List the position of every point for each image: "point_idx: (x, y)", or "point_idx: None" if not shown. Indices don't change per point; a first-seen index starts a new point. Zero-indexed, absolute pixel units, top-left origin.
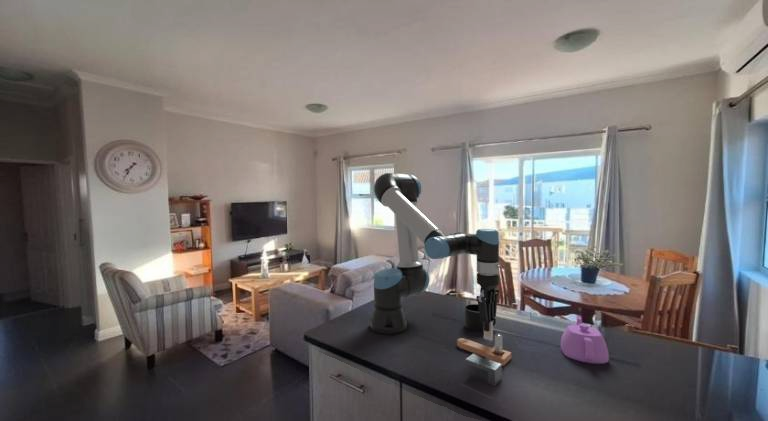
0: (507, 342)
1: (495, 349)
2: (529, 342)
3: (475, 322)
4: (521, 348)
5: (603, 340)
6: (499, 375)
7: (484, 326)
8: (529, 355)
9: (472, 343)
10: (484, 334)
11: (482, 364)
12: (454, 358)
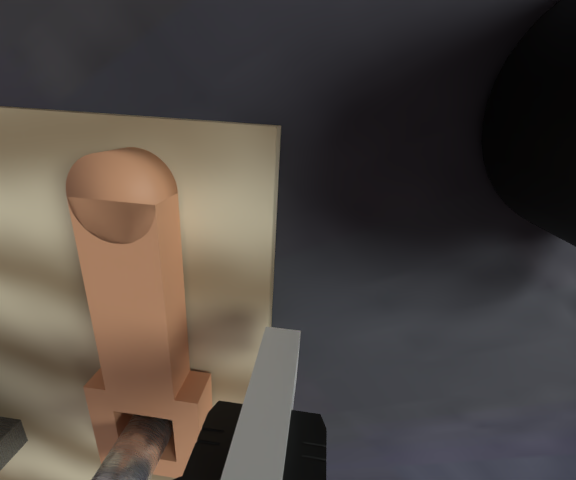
0: (454, 375)
1: (110, 451)
2: (522, 463)
3: (552, 170)
4: (411, 442)
5: None
6: None
7: (193, 450)
8: (351, 474)
9: (128, 285)
10: (257, 357)
11: None
12: None
